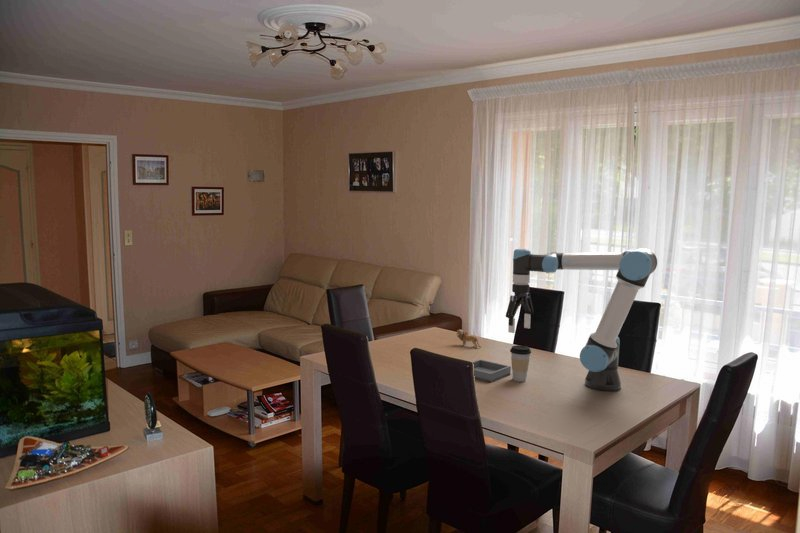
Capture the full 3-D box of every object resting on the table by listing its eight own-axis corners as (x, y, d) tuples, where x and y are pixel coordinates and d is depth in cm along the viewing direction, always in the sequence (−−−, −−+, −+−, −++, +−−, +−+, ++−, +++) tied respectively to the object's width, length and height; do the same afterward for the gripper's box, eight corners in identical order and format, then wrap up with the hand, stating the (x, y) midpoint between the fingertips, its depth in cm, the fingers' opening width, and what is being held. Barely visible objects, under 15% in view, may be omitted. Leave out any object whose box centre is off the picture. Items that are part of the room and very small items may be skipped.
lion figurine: (454, 345, 334) (455, 329, 333) (458, 343, 338) (458, 328, 337) (479, 349, 327) (480, 333, 326) (483, 347, 332) (483, 331, 331)
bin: (510, 374, 281) (510, 366, 281) (490, 382, 269) (490, 373, 268) (479, 367, 292) (480, 359, 292) (459, 374, 280) (459, 366, 279)
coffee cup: (528, 377, 278) (530, 345, 276) (531, 383, 269) (532, 350, 267) (507, 376, 279) (509, 344, 277) (509, 382, 270) (511, 349, 268)
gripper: (527, 280, 282) (526, 324, 284) (498, 285, 264) (497, 333, 266) (542, 281, 277) (540, 327, 279) (513, 287, 259) (512, 335, 261)
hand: (519, 330), depth 273 cm, fingers open, 13 cm apart
